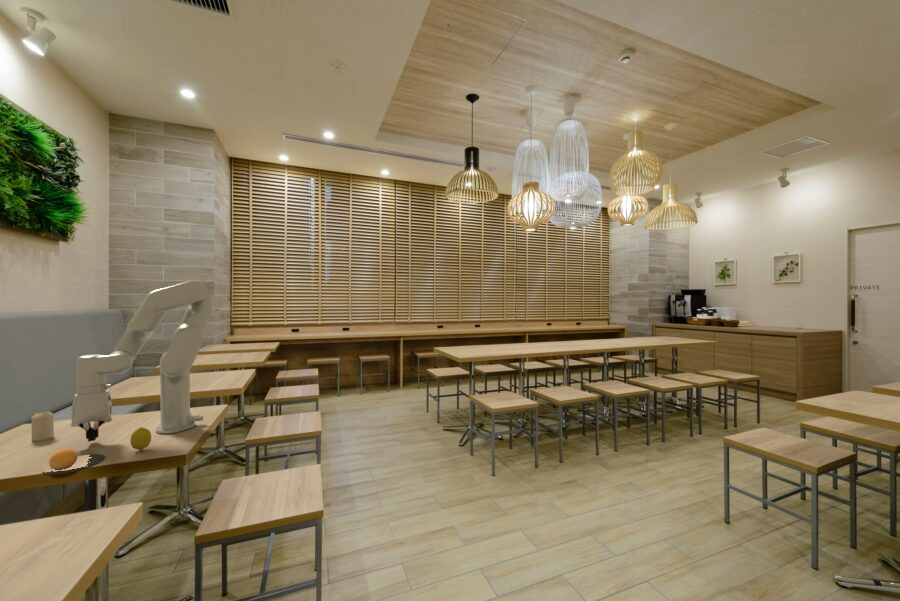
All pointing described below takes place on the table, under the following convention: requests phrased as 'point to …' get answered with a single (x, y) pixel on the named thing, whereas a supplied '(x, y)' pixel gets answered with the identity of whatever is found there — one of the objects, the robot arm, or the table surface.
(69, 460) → the ball
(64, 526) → the table surface
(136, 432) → the lemon
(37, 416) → the candle
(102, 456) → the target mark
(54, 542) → the table surface
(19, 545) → the table surface
